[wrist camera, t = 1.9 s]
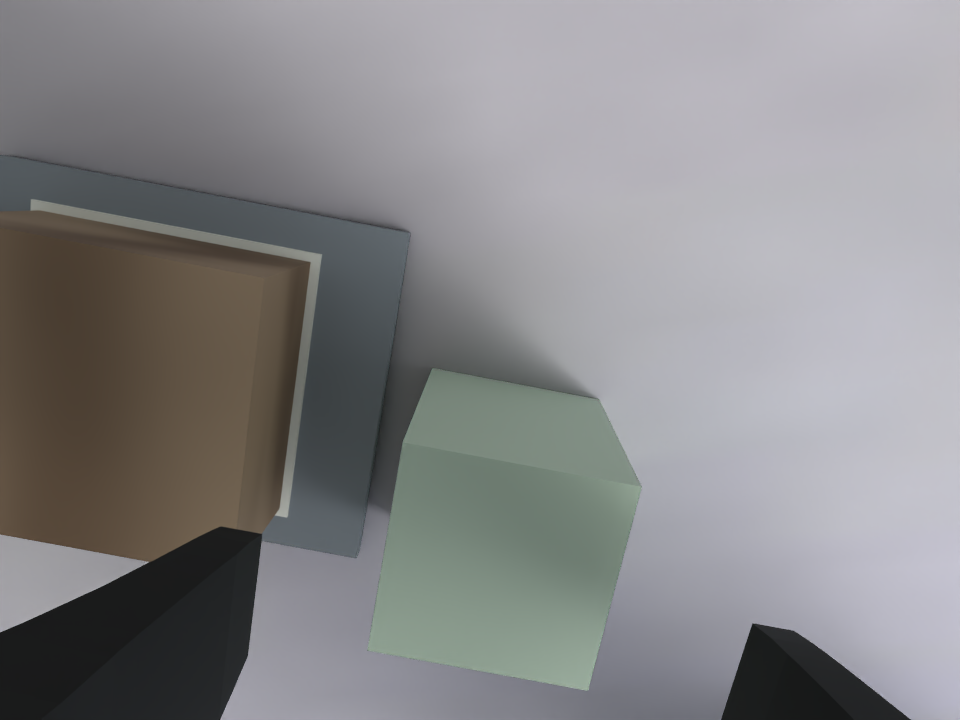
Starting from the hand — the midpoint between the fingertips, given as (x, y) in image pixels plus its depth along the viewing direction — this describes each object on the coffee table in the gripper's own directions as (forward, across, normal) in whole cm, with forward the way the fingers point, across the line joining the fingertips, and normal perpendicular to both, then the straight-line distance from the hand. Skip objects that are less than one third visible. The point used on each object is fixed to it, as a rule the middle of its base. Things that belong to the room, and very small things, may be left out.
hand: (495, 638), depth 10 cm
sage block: (+7, 0, 0) cm, 7 cm away
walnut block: (+6, +8, -1) cm, 10 cm away
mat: (+7, +7, -1) cm, 10 cm away
